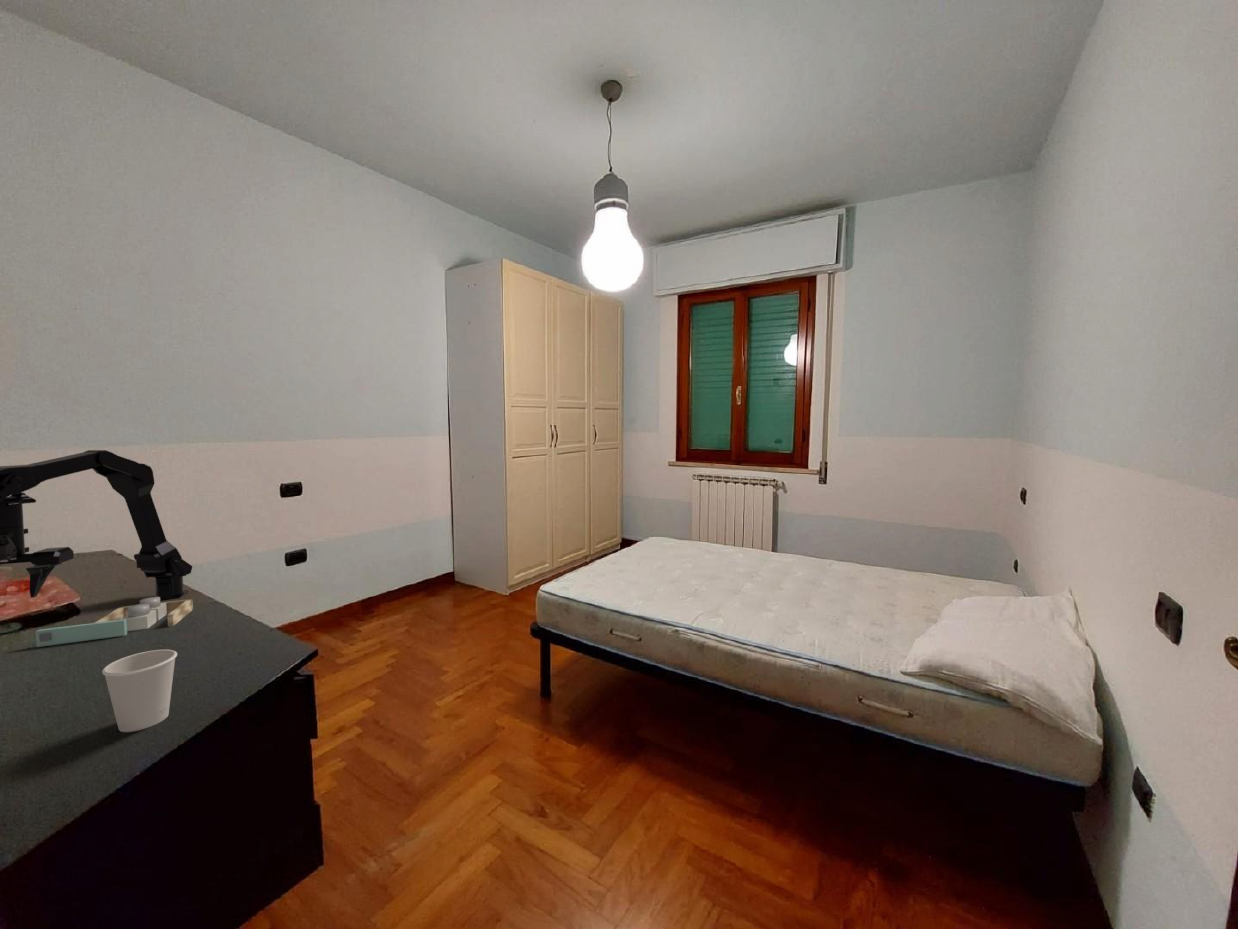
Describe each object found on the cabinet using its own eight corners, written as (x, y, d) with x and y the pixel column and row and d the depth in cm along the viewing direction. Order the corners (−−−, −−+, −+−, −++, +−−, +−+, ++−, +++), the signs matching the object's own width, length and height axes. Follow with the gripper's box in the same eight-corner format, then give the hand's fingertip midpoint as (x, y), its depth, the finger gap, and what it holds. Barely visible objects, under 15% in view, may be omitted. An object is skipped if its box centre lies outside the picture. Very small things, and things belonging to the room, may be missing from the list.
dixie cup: (193, 705, 79) (191, 648, 78) (145, 737, 70) (141, 673, 70) (143, 706, 78) (140, 649, 78) (88, 738, 70) (84, 674, 70)
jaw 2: (143, 617, 117) (142, 597, 117) (166, 614, 119) (165, 595, 119) (134, 623, 113) (133, 603, 113) (158, 620, 115) (157, 600, 115)
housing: (120, 618, 116) (120, 607, 116) (193, 610, 122) (192, 599, 122) (92, 637, 105) (91, 624, 105) (173, 626, 111) (172, 614, 111)
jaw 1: (121, 632, 108) (120, 611, 108) (131, 625, 112) (130, 604, 112) (147, 628, 110) (146, 608, 110) (156, 621, 114) (155, 602, 114)
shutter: (39, 645, 100) (38, 629, 100) (127, 633, 107) (126, 619, 106) (35, 647, 99) (34, 632, 99) (124, 636, 105) (123, 621, 105)
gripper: (-107, 537, 85) (-101, 620, 86) (39, 530, 94) (43, 605, 94) (-55, 527, 95) (-50, 602, 96) (73, 521, 104) (76, 589, 104)
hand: (5, 600), depth 98 cm, fingers open, 8 cm apart
